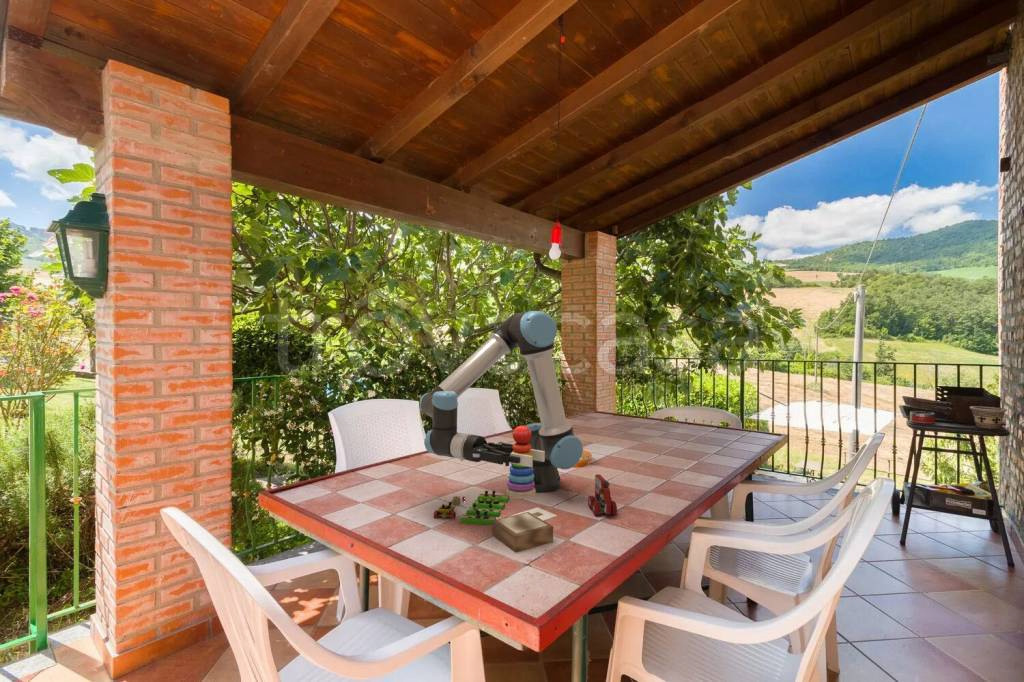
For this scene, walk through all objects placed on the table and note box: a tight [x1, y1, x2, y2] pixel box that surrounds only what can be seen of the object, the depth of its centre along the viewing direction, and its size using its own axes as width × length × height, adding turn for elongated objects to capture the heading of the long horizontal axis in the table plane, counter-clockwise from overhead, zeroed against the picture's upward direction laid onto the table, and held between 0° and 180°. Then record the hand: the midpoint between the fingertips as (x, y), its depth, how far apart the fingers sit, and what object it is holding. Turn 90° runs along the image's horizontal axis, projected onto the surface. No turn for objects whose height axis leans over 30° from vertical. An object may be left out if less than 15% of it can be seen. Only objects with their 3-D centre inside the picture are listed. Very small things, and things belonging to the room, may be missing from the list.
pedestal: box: [491, 512, 554, 553], centre depth 126 cm, size 12×12×4 cm
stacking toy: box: [506, 425, 536, 500], centre depth 126 cm, size 8×8×19 cm
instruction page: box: [507, 507, 558, 522], centre depth 142 cm, size 12×9×1 cm
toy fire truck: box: [587, 473, 618, 516], centre depth 146 cm, size 7×12×10 cm, turn 5°
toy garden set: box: [433, 489, 510, 527], centre depth 148 cm, size 23×19×5 cm
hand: (537, 458), depth 123 cm, fingers closed on stacking toy, 6 cm apart
